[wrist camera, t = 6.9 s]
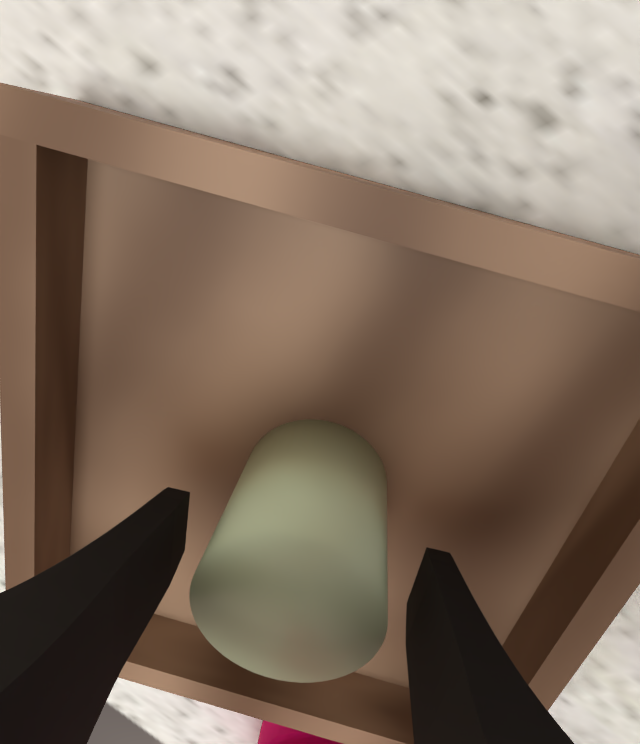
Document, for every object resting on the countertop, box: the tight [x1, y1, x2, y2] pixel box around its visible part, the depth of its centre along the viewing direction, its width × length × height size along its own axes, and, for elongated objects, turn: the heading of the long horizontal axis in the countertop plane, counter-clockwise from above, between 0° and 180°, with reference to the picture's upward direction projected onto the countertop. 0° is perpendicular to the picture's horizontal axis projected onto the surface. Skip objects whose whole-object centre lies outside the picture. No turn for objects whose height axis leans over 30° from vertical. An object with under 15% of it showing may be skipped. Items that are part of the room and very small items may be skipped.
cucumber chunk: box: [189, 419, 388, 683], centre depth 13 cm, size 4×4×5 cm
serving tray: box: [0, 83, 640, 744], centre depth 15 cm, size 18×18×3 cm
